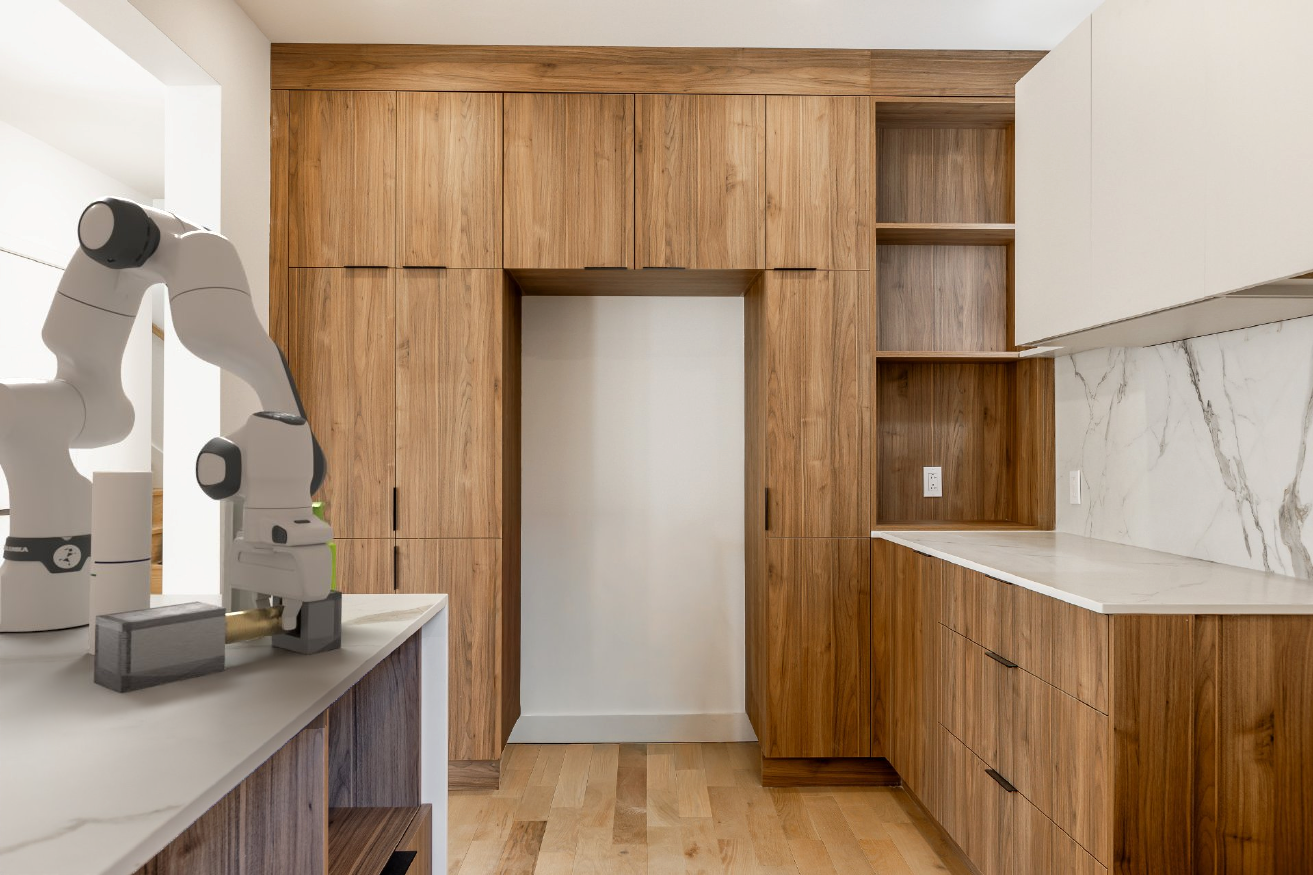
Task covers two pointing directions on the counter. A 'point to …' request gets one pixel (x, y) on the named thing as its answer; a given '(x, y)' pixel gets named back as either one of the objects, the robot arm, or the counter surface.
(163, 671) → the grey sleeve
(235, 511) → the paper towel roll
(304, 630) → the dark socket block
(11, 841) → the counter surface
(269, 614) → the brass slip tube
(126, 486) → the cylindrical container
